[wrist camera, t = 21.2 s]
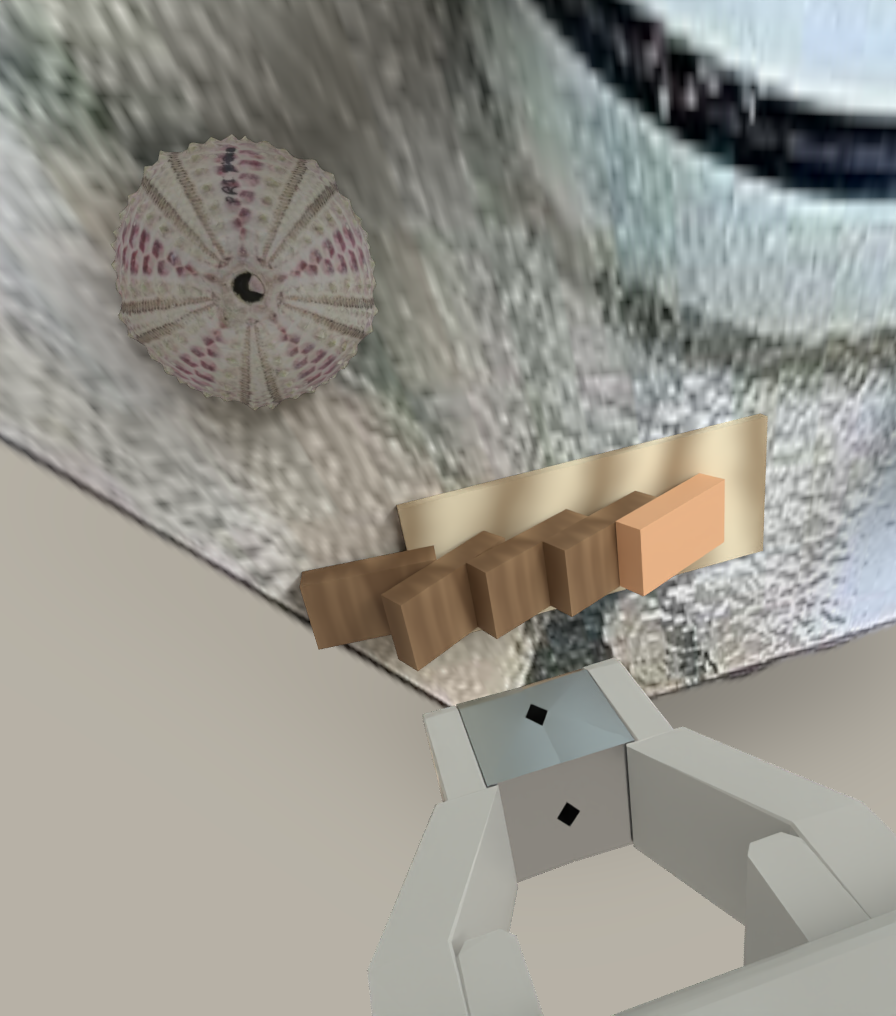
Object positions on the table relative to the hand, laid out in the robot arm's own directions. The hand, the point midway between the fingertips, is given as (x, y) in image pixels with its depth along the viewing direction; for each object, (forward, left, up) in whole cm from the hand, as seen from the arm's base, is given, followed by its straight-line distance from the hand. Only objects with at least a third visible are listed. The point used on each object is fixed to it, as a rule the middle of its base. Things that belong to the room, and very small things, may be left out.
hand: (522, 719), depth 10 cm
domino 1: (+3, +16, -31) cm, 35 cm away
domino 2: (-1, +18, -31) cm, 36 cm away
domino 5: (-16, +23, -31) cm, 42 cm away
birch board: (-8, +20, -33) cm, 40 cm away
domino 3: (-7, +20, -31) cm, 38 cm away
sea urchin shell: (+2, -6, -34) cm, 34 cm away
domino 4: (-11, +21, -31) cm, 40 cm away
